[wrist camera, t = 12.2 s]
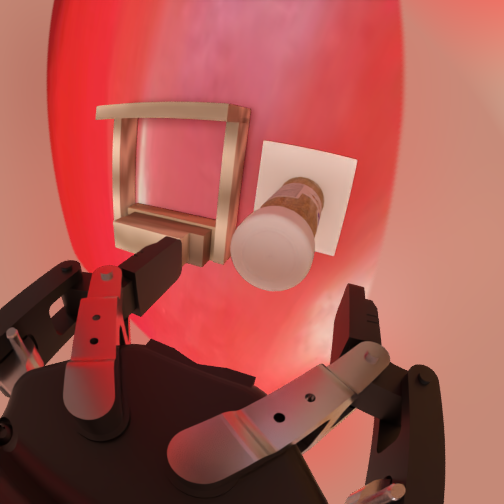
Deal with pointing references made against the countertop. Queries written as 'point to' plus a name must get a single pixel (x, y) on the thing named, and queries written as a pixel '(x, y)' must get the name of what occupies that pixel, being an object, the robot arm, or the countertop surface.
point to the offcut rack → (168, 221)
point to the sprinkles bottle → (279, 237)
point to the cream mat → (318, 170)
